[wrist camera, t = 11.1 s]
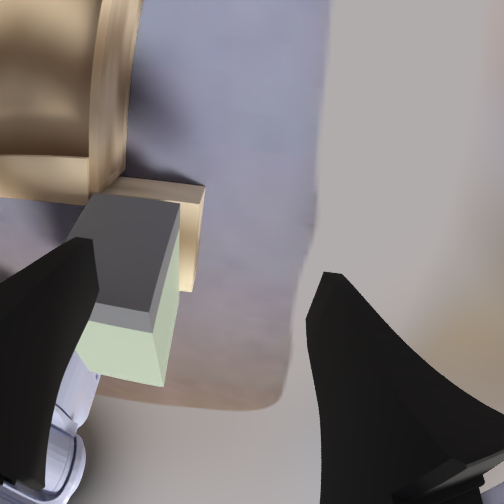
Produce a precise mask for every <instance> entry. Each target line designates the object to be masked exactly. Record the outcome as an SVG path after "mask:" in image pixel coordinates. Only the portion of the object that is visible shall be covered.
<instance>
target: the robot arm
mask: <svg viewBox="0 0 504 504" xmlns="http://www.w3.org/2000/svg"><path fill="white" fill-rule="evenodd" d="M99 290H100V289H99V283H98V276H97V270H96V262H95V255H94V246H93V239H88V238H82V237H75V238H73V239H71V240H69V241H67V242H65V243H64V244H62V245H60V246H59V247H57V248H55V249H54V250H52V251H51V252H49V253H47V254H46V255H44V256H43V257H41V258H40V259H38V260H36V261H35V262H33V263H32V264H30V265H29V266H27V267H26V268H24V269H22V270H21V271H19V272H18V273H16V274H14V275H13V276H11V277H10V278H8V279H6V280H5V281H3V282H2V283H0V504H67V502H68V500H69V498H70V496H71V495H72V494H73V493H74V491H75V490H76V488H77V487H78V485H79V483H80V480H81V477H82V474H83V471H84V466H85V459H86V454H85V448H84V445H83V442H82V439H81V437H80V436H79V435H77V434H76V431H77V428H78V427H80V426H81V425H82V424H83V423H84V421H85V420H86V419H87V417H88V414H89V411H90V408H91V405H92V401H93V398H94V395H95V392H96V389H97V386H98V383H99V380H100V377H101V374H98V373H94V372H90V371H89V370H88V368H87V367H86V365H85V364H84V363H83V361H82V360H81V358H80V357H79V355H78V354H77V352H76V351H75V348H76V346H77V344H78V342H79V340H80V338H81V335H82V333H83V331H84V329H85V327H86V325H87V323H88V321H89V318H90V316H91V314H92V311H93V308H94V305H95V302H96V299H97V296H98V293H99ZM306 335H307V348H308V353H309V359H310V364H311V369H312V374H313V380H314V385H315V390H316V396H317V401H318V407H319V414H320V428H321V460H322V463H321V467H322V468H321V495H320V504H504V482H502V483H500V484H499V485H497V486H495V487H493V488H491V489H489V490H487V491H486V492H483V493H481V494H480V490H479V487H480V486H482V485H484V483H485V481H484V478H483V474H484V473H486V472H487V471H489V470H491V469H492V468H494V467H495V466H497V465H498V464H500V463H501V462H503V461H504V414H502V413H500V412H498V411H496V410H494V409H492V408H490V407H489V406H487V405H485V404H483V403H482V402H480V401H478V400H477V399H475V398H474V397H472V396H471V395H469V394H467V393H466V392H464V391H463V390H462V389H460V388H459V387H457V386H456V385H454V384H453V383H452V382H450V381H449V380H448V379H446V378H445V377H444V376H443V375H441V374H440V373H438V372H437V371H436V370H435V369H434V368H433V367H431V366H430V365H429V364H428V363H427V362H426V361H425V360H423V359H422V358H421V357H420V356H419V355H418V354H417V353H416V352H414V351H413V350H412V349H411V348H410V347H409V346H408V345H407V344H406V343H405V342H404V341H403V340H402V339H401V338H400V337H399V336H398V335H397V334H396V333H395V332H394V331H393V330H392V329H391V327H390V326H389V325H388V324H387V323H386V322H385V321H384V320H383V319H382V318H381V317H380V315H379V314H378V313H377V312H376V311H375V310H374V309H373V308H372V306H371V305H370V304H369V303H368V302H367V301H366V300H365V299H364V297H363V296H362V295H361V294H360V293H359V292H358V291H357V289H356V288H355V287H354V286H353V285H352V284H351V283H350V282H349V281H348V280H347V279H346V278H345V277H344V276H343V275H342V274H338V273H331V272H323V275H322V278H321V281H320V283H319V286H318V289H317V291H316V294H315V297H314V299H313V302H312V304H311V307H310V309H309V312H308V314H307V317H306Z"/></svg>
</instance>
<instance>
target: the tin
mask: <svg viewBox="0 0 504 504" xmlns="http://www.w3.org/2000/svg"><path fill="white" fill-rule="evenodd" d="M180 204H181V203H174V202H166V201H159V200H151V199H143V198H135V197H127V196H118V195H109V194H101V193H93V195H92V196H91V198H90V199H89V201H88V203H87V204H86V206H85V207H84V209H83V211H82V212H81V214H80V216H79V217H78V219H77V221H76V222H75V224H74V226H73V228H72V229H71V231H70V233H69V235H68V236H67V238H66V240H65V242H67V241H69V240H71V239H73V238H75V237H82V238H88V239H93V246H94V255H95V262H96V270H97V276H98V283H99V289H100V290H99V293H98V296H97V299H96V302H95V305H94V308H93V311H92V314H91V316H90V318H89V321H88V323H87V325H86V327H85V329H84V331H83V333H82V335H81V338H80V340H79V342H78V344H77V346H76V348H75V351H76V352H77V354H78V355H79V357H80V358H81V360H82V361H83V363H84V364H85V365H86V367H87V368H88V370H89V371H90V372H94V373H98V374H102V375H107V376H111V377H115V378H120V379H124V380H129V381H134V382H139V383H144V384H149V385H154V386H160V387H164V381H165V375H166V369H167V363H168V358H169V352H170V346H171V341H172V335H173V330H174V325H175V320H176V314H177V309H178V304H179V236H180ZM65 242H64V243H65ZM64 243H63V244H64Z"/></svg>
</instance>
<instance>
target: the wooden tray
mask: <svg viewBox="0 0 504 504" xmlns="http://www.w3.org/2000/svg"><path fill="white" fill-rule="evenodd" d="M142 4H143V0H0V197H5V198H16V199H26V200H35V201H45V202H54V203H63V204H72V205H81V206H86V204H87V203H88V201H89V199H90V195H93V193H102V192H103V191H104V190H105V189H106V188H107V187H108V186H109V185H110V184H111V183H112V182H113V181H114V180H115V179H116V178H117V177H118V176H119V175H120V174H121V173H122V172H123V171H124V170H126V139H127V121H128V107H129V95H130V85H131V75H132V67H133V59H134V51H135V44H136V38H137V31H138V25H139V20H140V14H141V9H142Z"/></svg>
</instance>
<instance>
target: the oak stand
mask: <svg viewBox="0 0 504 504" xmlns="http://www.w3.org/2000/svg"><path fill="white" fill-rule="evenodd" d="M101 194H109V195H118V196H127V197H135V198H143V199H151V200H159V201H166V202H174V203H181V204H180V236H179V290H180V291H187V292H192V289H193V284H194V280H195V275H196V271H197V262H198V252H199V241H200V231H201V222H202V212H203V204H204V195H205V186H198V185H190V184H182V183H174V182H166V181H157V180H148V179H138V178H129V177H117V178H116V179H115V180H114V181H113V182H112V183H111V184H110V185H109V186H108V187H107V188H106V189H105V190H104V191H103V192H102V193H101Z"/></svg>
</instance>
